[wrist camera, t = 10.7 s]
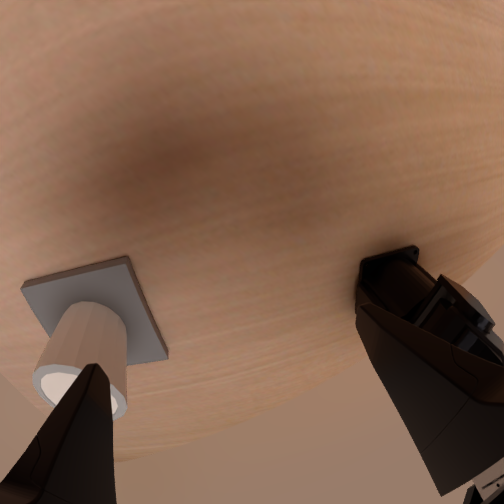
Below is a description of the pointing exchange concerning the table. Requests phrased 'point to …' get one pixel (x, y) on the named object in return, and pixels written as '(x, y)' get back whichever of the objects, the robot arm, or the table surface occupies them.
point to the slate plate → (105, 293)
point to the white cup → (84, 353)
